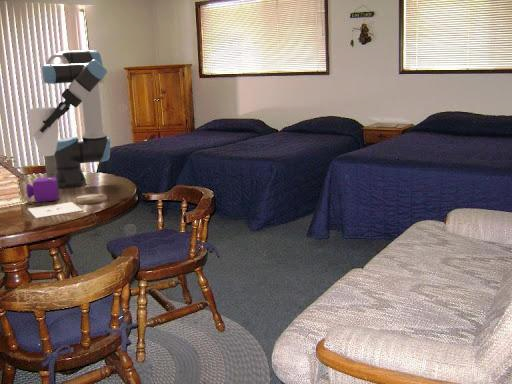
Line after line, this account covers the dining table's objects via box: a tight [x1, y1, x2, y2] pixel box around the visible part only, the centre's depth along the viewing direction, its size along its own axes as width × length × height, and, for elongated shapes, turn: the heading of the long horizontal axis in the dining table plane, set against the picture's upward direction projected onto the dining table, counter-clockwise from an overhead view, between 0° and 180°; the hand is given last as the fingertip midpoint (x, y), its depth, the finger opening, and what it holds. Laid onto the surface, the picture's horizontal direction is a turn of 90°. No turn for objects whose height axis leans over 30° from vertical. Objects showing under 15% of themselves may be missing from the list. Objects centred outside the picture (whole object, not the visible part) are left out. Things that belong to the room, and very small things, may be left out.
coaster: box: [75, 193, 108, 205], centre depth 241 cm, size 13×13×2 cm
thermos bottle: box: [43, 155, 56, 178], centre depth 299 cm, size 8×8×28 cm
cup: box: [29, 106, 60, 157], centre depth 220 cm, size 10×10×22 cm
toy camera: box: [25, 177, 60, 203], centre depth 244 cm, size 11×14×10 cm
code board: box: [27, 201, 84, 219], centre depth 227 cm, size 18×18×1 cm
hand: (38, 136), depth 220 cm, fingers closed on cup, 10 cm apart
